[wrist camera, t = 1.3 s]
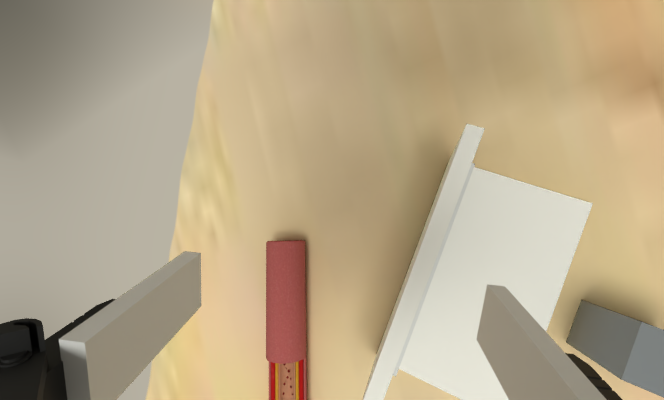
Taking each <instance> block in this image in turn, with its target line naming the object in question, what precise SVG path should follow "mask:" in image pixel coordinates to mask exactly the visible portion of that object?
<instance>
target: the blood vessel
mask: <svg viewBox="0 0 664 400" xmlns="http://www.w3.org/2000/svg"><path fill="white" fill-rule="evenodd" d="M266 358H267V360H268V361H269V400H307V369H306V284H305V241H303V240H296V241H267V242H266Z"/></svg>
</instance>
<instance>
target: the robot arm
mask: <svg viewBox="0 0 664 400" xmlns="http://www.w3.org/2000/svg"><path fill="white" fill-rule="evenodd" d="M200 307H201V253H196V252H187V251H185V252H183V253H182V254H180V255H179V256H177V257H176V258H175V259H173V260H172V261H170V262H169V263H167V264H166V265H164V266H163V267H162V268H160V269H159V270H157V271H156V272H154V273H153V274H152V275H150V276H149V277H147V278H146V279H144V280H143V281H142V282H140V283H139V284H138V285H136V286H134V287H133V288H132V289H130V290H129V291H127V292H126V293H124V294H123V295H121V296H120V297H119V298H117V299H111V300H109V301H106V302H104V303H102V304H99V305H97V306H95V307H94V308H92V309H91V310H89V311H88V312H86V313H85V314H84V316H80V317H79V318H77V319H76V320H74V322H73V323H72V322H71V323H70V324H68V325H67V326H65V327H64V328H62V329H61V330H60V331H58V332H56V333H55V334H53V335H52V336H50V337H49V338H47V339H46V340H44V332H43V325H42V322H41V321H39V320H37V319H19V320H13V321H10V322H6V323H2V324H0V400H117V398H118V397H119V396H120V395H121V394H122V393H123V392H124V391H125V389H126V388H127V387H128V386H129V385H130V384H131V383H132V382H133V381H134V380H135V379H136V377H137V376H138V375H139V374H140V373H141V372H142V371H143V370H144V369H145V367H146V366H147V365H148V364H149V363H150V362H151V361H152V360H153V359H154V358H155V356H156V355H157V354H158V353H159V352H160V351H161V350H162V349H163V348H164V346H165V345H166V344H167V343H168V342H169V341H170V340H171V339H172V338H173V337H174V335H175V334H176V333H177V332H178V331H179V330H180V329H181V328H182V327H183V325H184V324H185V323H186V322H187V321H188V320H189V319H190V318H191V317H192V316H193V314H194V313H195V312H196V311H197V310H198V309H199V308H200ZM477 341H478V343H479V345H480V347H481V349H482V351H483V352H484V354H485V356H486V358H487V360H488V362H489V364H490V365H491V367H492V369H493V371H494V373H495V375H496V377H497V378H498V380H499V382H500V384H501V386H502V388H503V390H504V392H505V393H506V395H507V397H508V399H509V400H622V399H621V398H620V397H619V396H618V394H617V393H616V392H615V391H612V388H611V387H610V386H609V385H608V384H607V383H606V382H605V381H604V380H602V378H601V377H600V376H599V375H598V374H597V372H596V371H595V370H594V369H593V368H592V367H591V366H590V365H588V364H587V363H585V362H584V361H583V360H581V359H580V358H578V357H577V356H575V355H574V354H567V353H564V351H563V350H562V349H561V348H560V347H559V346H558V345H557V344H556V343H555V341H554V340H553V339H552V338H551V337H550V336H549V335H548V334H547V332H546V331H545V330H544V329H543V328H542V327H541V326H540V325H539V324H538V322H537V321H536V320H535V319H534V318H533V317H532V316H531V315H530V314H529V312H528V311H527V310H526V309H525V308H524V307H523V306H522V305H521V303H520V302H519V301H518V300H517V299H516V298H515V297H514V296H513V295H512V293H511V292H510V291H509V290H508V289H507V288H506V287H505V286H498V285H489V284H487V288H486V293H485V298H484V303H483V308H482V313H481V318H480V323H479V328H478V333H477Z"/></svg>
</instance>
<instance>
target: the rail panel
mask: <svg viewBox="0 0 664 400" xmlns="http://www.w3.org/2000/svg"><path fill="white" fill-rule="evenodd" d="M483 132H484V128H481V127H477V126H474V125H470V124H466V126H465V128H464V130H463V132H462V135H461V137H460V139H459V141H458V143H457V145H456V147H455V149H454V151H453V153H452V156H451V158H450V160H449V162H448V165H447V167H446V170H445V173H444V175H443V178H442V181H441V183H440V186H439V189H438V191H437V194H436V197H435V199H434V202H433V205H432V207H431V210H430V213H429V215H428V218H427V221H426V223H425V226H424V229H423V231H422V234H421V237H420V239H419V242H418V245H417V247H416V250H415V253H414V255H413V258H412V261H411V263H410V266H409V269H408V272H407V274H406V277H405V280H404V282H403V285H402V288H401V290H400V293H399V296H398V298H397V301H396V304H395V306H394V309H393V312H392V314H391V317H390V320H389V322H388V325H387V328H386V330H385V333H384V336H383V338H382V341H381V344H380V346H379V349H378V352H377V354H376V357H375V361H374V364H373V367H372V370H371V374H370V377H369V380H368V383H367V387H366V390H365V393H364V396H363V400H384V397H385V395H386V392H387V389H388V386H389V384H390V381H391V378H392V376H393V375H394V376H396V375H397V372H398V370H399V369H400V370H402V371H404V372H406V373H408V374H410V375H412V376H414V377H416V378H419V379H421V380H423V381H425V382H427V383H429V384H431V385H433V386H435V387H437V388H439V389H441V390H443V391H445V392H447V393H449V394H451V395H453V396H455V397H457V398H459V399H461V400H509V399H508V397H507V395H506V393H505V392H504V390H503V388H502V386H501V384H500V382H499V380H498V378H497V377H496V375H495V373H494V371H493V369H492V367H491V365H490V364H489V362H488V360H487V358H486V356H485V354H484V352H483V351H482V349H481V347H480V345H479V343H478V341H477V333H478V328H479V323H480V318H481V313H482V308H483V303H484V298H485V293H486V288H487V284H489V285H498V286H505V287H506V288H507V289H508V290H509V291H510V292H511V293H512V295H513V296H514V297H515V298H516V299H517V300H518V301H519V302H520V303H521V305H522V306H523V307H524V308H525V309H526V310H527V311H528V312H529V314H530V315H531V316H532V317H533V318H534V319H535V320H536V321H537V322H538V324H539V325H540V326H541V327H542V328H543V329H544V330H545V331H547V328H548V325H549V322H550V320H551V317H552V314H553V311H554V309H555V306H556V303H557V300H558V298H559V295H560V292H561V289H562V287H563V284H564V281H565V278H566V276H567V273H568V270H569V267H570V265H571V262H572V259H573V256H574V254H575V251H576V248H577V245H578V243H579V240H580V237H581V234H582V232H583V229H584V226H585V223H586V221H587V218H588V215H589V212H590V210H591V207H592V204H593V203H589V202H586V201H583V200H580V199H577V198H573V197H570V196H567V195H564V194H560V193H557V192H554V191H551V190H547V189H544V188H541V187H538V186H534V185H531V184H528V183H525V182H521V181H518V180H515V179H512V178H508V177H505V176H502V175H499V174H495V173H492V172H489V171H486V170H482V169H479V168H476V167H474V166H475V164H473V163H472V161H473V159H474V156H475V153H476V151H477V148H478V145H479V143H480V140H481V137H482V135H483Z"/></svg>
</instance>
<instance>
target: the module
mask: <svg viewBox="0 0 664 400" xmlns="http://www.w3.org/2000/svg"><path fill="white" fill-rule="evenodd" d="M566 343H568V344H569V345H571V346H572V347H574V348H575V349H577V350H578V351H580V352H581V353H583V354H584V355H586V356H587V357H589V358H590V359H592V360H593V361H595V362H596V363H598V364H599V365H601V366H602V367H604V368H605V369H607V370H608V371H609V372H611V373H612V374H614V375H615V376H617V377H618V378H620V379H621V380H624V381H626V382H628V383H631V384H633V385H635V386H638V387H640V388H643V389H645V390H647V391H650V392H652V393H654V394H657V395H659V396H661V397H664V330H662V329H659V328H657V327H654V326H652V325H649V324H646V323H644V322H641V321H638V320H635V319H633V318H630V317H627V316H624V315H622V314H619V313H616V312H613V311H611V310H608V309H605V308H602V307H600V306H597V305H594V304H591V303H589V302H586V301H583V300H581V303H580V305H579V308H578V311H577V314H576V316H575V319H574V322H573V325H572V327H571V330H570V333H569V336H568V338H567V341H566Z"/></svg>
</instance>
